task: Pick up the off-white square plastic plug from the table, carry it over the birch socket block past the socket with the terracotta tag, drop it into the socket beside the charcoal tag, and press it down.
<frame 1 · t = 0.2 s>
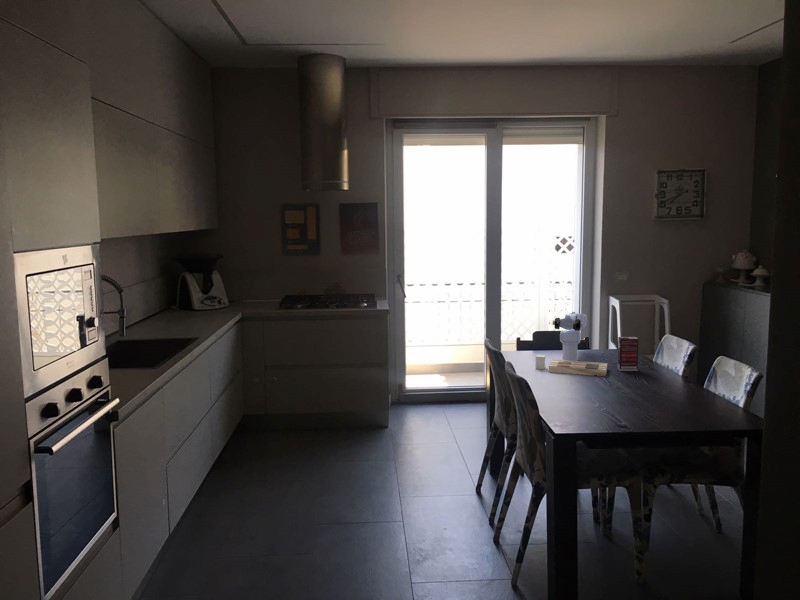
hand: (565, 326, 306), 21 cm above the table, tool horizontal, fingers open, 7 cm apart
plug: (540, 367, 313), on the table
supplement box: (627, 370, 307), on the table
socket block: (578, 370, 307), on the table
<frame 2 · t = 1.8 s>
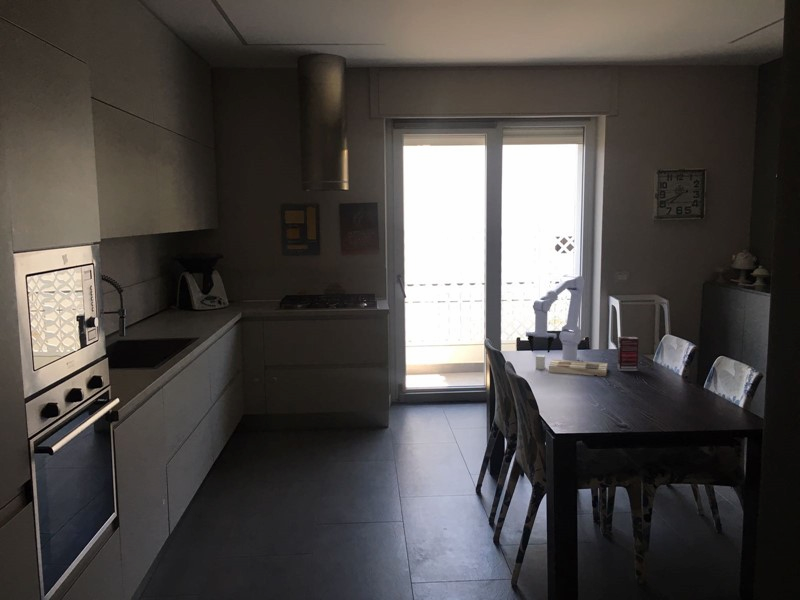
hand: (540, 351, 312), 8 cm above the table, tool pointing down, fingers open, 7 cm apart
nothing on the table moved.
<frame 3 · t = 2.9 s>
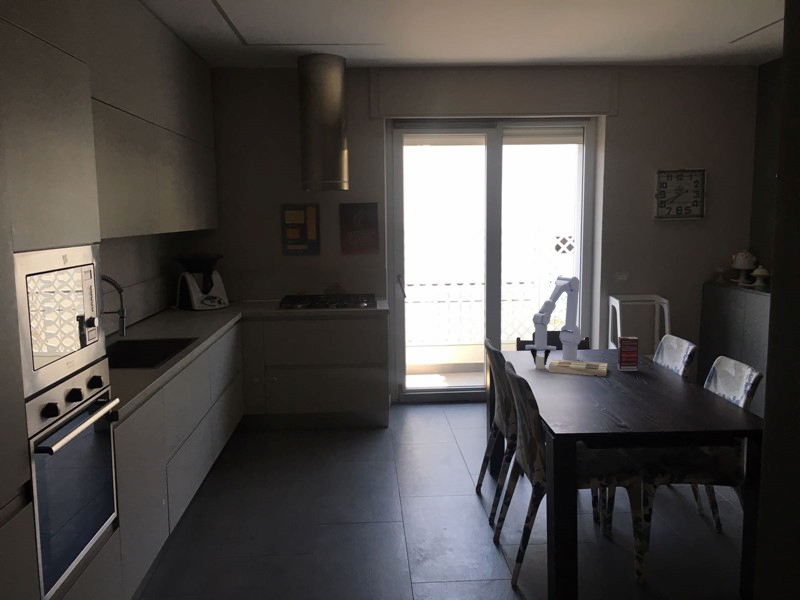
hand: (540, 364, 313), 2 cm above the table, tool pointing down, fingers closed on plug, 4 cm apart
plug: (540, 367, 313), on the table, touching gripper
everything else where it was.
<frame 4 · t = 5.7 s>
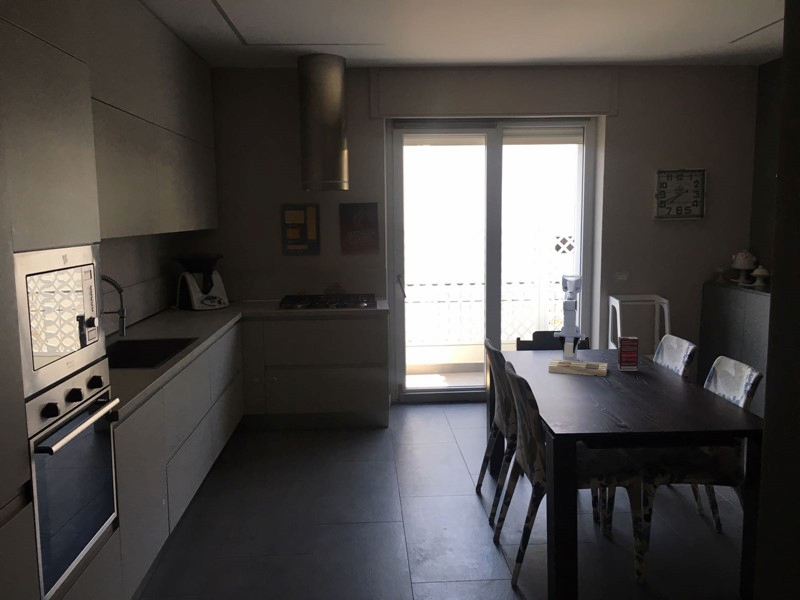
hand: (568, 352, 307), 9 cm above the table, tool pointing down, fingers closed on plug, 4 cm apart
plug: (568, 355, 307), point 7 cm above the table, touching gripper
everything else where it was.
when the fingers open (4 cm above the table, at t = 8.4 s): plug drops 2 cm, resting in socket block.
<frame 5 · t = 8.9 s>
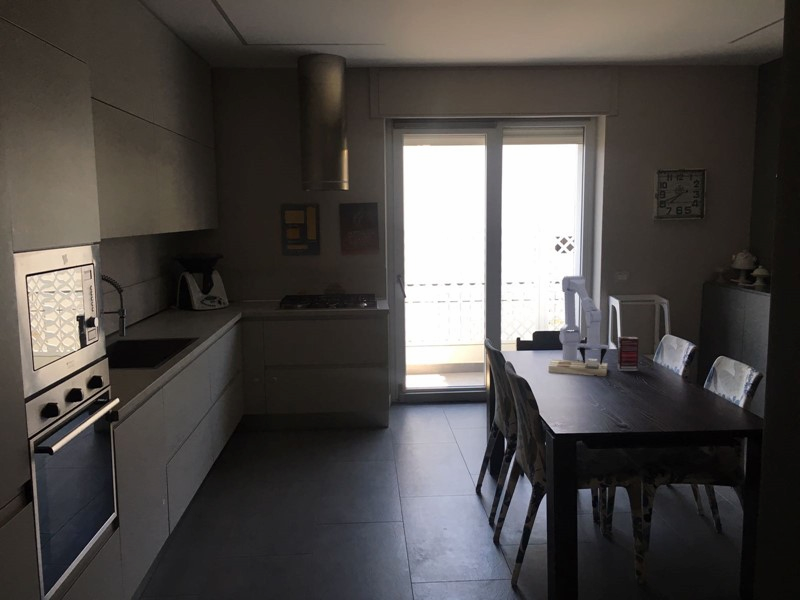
hand: (592, 363, 304), 4 cm above the table, tool pointing down, fingers open, 7 cm apart
plug: (592, 371, 304), resting in socket block
everything else where it was.
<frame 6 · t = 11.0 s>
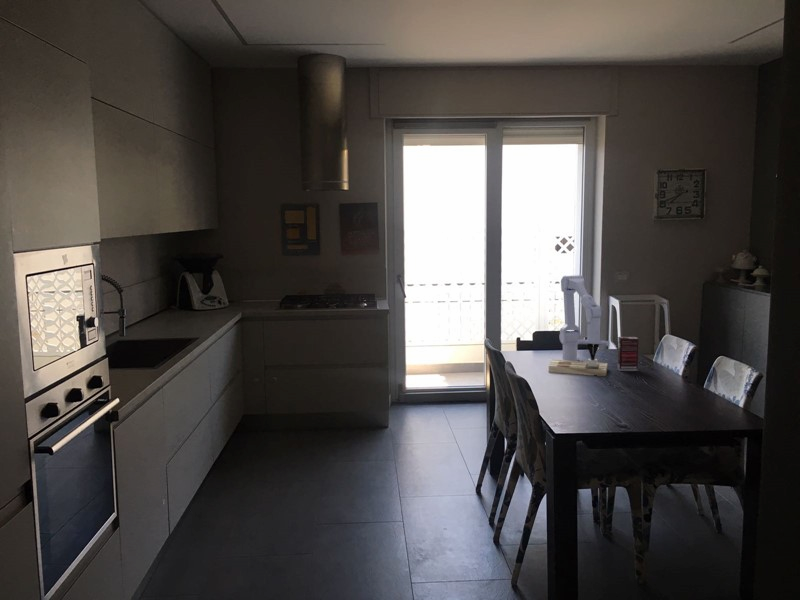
hand: (592, 359, 303), 6 cm above the table, tool pointing down, fingers closed, pressing on plug
plug: (592, 371, 304), resting in socket block, touching gripper
everything else where it was.
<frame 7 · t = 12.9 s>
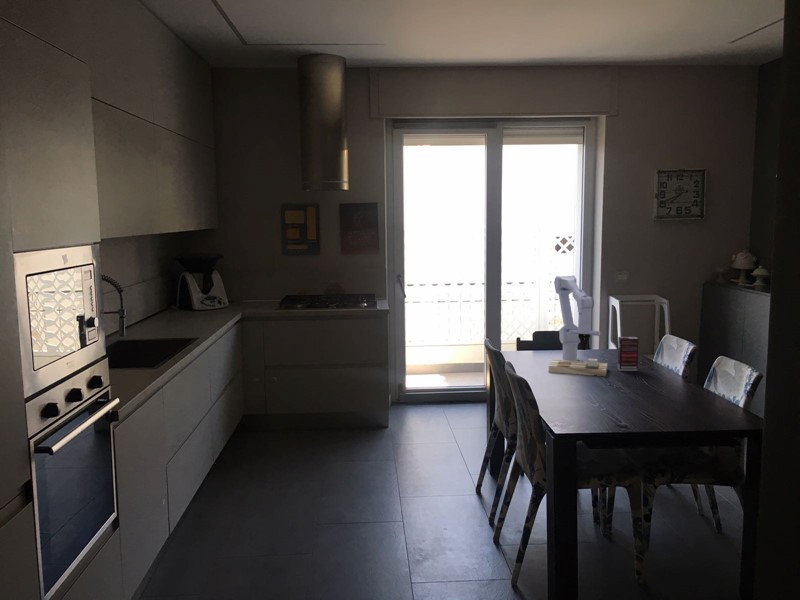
hand: (584, 349, 309), 9 cm above the table, tool pointing down, fingers closed
plug: (592, 371, 304), resting in socket block
everything else where it was.
at the end: plug 0.2 cm from the target spot on the socket block, point 0.0 cm above the socket block's base; plug tilted 0°; the gripper is holding nothing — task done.
